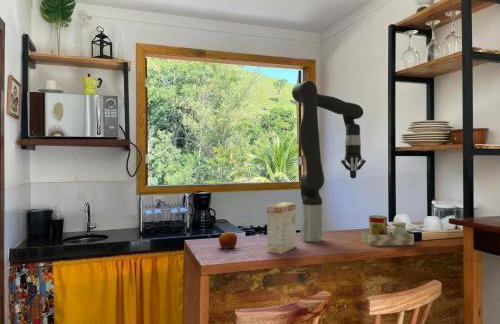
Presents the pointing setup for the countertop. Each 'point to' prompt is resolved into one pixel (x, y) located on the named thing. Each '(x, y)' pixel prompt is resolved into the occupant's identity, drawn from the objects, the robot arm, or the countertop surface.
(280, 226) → the coffeecake box
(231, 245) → the fruit
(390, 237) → the grey green tray
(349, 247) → the countertop surface
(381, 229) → the canned food
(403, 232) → the jar
